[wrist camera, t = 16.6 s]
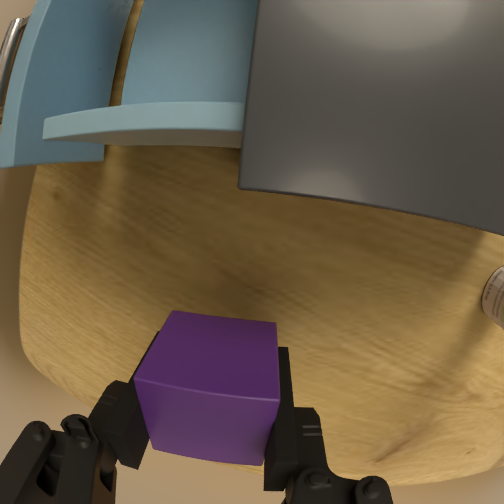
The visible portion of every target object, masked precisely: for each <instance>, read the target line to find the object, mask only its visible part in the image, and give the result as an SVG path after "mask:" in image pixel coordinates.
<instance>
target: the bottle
mask: <svg viewBox="0 0 504 504" xmlns="http://www.w3.org/2000/svg"><path fill="white" fill-rule="evenodd" d="M482 307H483V311H484V312H485V314H486V315H487V316H488V317H490V318H491V319H492V320H493V321H494V322H495V323H497V324H498V325H499V326H500V327H501V328H502V329H503V330H504V266H502V267H501V268H499V269H497V270H496V271H495V272H494V273H493V275H492V276H491V278H490V279H489V281H488V283H487V285H486V287H485V290H484V293H483V297H482Z"/></svg>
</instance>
